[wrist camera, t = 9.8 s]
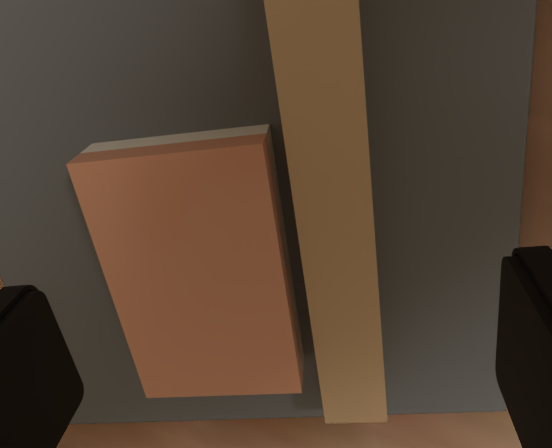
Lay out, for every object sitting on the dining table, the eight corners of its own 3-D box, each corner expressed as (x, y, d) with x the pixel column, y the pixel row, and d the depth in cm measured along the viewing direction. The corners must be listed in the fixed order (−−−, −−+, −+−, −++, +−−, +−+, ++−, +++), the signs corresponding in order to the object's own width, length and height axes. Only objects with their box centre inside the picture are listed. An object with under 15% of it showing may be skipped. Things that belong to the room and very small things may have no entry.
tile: (269, 124, 14) (92, 143, 14) (262, 143, 12) (66, 164, 13) (304, 357, 17) (161, 363, 18) (301, 392, 16) (146, 398, 16)
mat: (-175, -132, 12) (-241, -143, 11) (551, -293, 10) (589, -336, 8) (73, 415, 20) (54, 450, 19) (502, 402, 18) (517, 440, 16)
